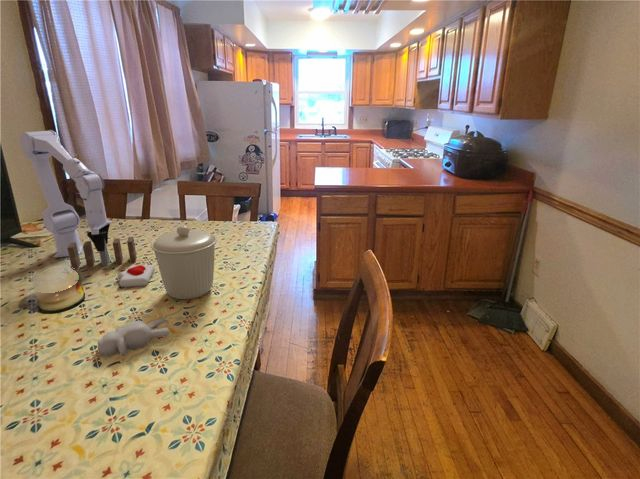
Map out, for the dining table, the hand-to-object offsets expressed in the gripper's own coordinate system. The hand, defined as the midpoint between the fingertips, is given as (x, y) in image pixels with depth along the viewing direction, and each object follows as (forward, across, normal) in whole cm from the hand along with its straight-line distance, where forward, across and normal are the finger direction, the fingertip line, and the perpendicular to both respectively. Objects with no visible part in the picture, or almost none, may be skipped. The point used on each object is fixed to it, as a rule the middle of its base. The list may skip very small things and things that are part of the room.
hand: (102, 247), depth 133 cm
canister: (+6, -32, -27) cm, 42 cm away
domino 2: (+6, 0, +4) cm, 7 cm away
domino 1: (+6, 0, +9) cm, 11 cm away
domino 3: (+6, 0, -4) cm, 7 cm away
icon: (+6, -17, -11) cm, 21 cm away
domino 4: (+6, 0, -9) cm, 11 cm away
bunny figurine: (+6, -55, -13) cm, 57 cm away
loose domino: (+6, 0, 0) cm, 6 cm away
